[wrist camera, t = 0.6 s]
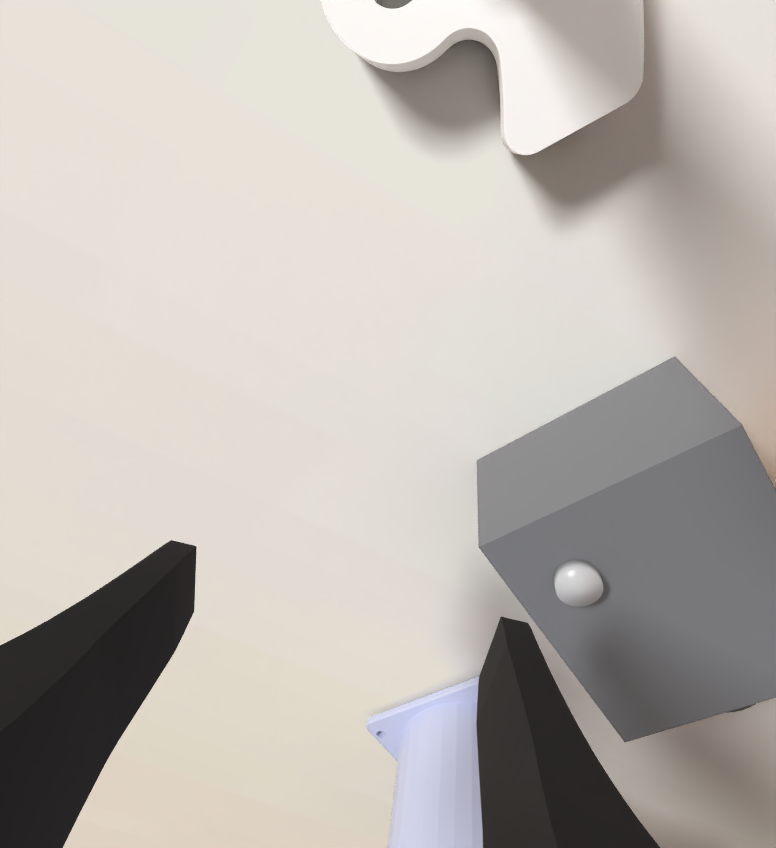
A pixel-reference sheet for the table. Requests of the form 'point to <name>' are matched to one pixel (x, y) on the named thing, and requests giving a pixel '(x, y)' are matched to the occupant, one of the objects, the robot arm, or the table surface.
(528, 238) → the table surface
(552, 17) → the joystick
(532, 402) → the table surface
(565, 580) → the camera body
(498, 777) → the robot arm
